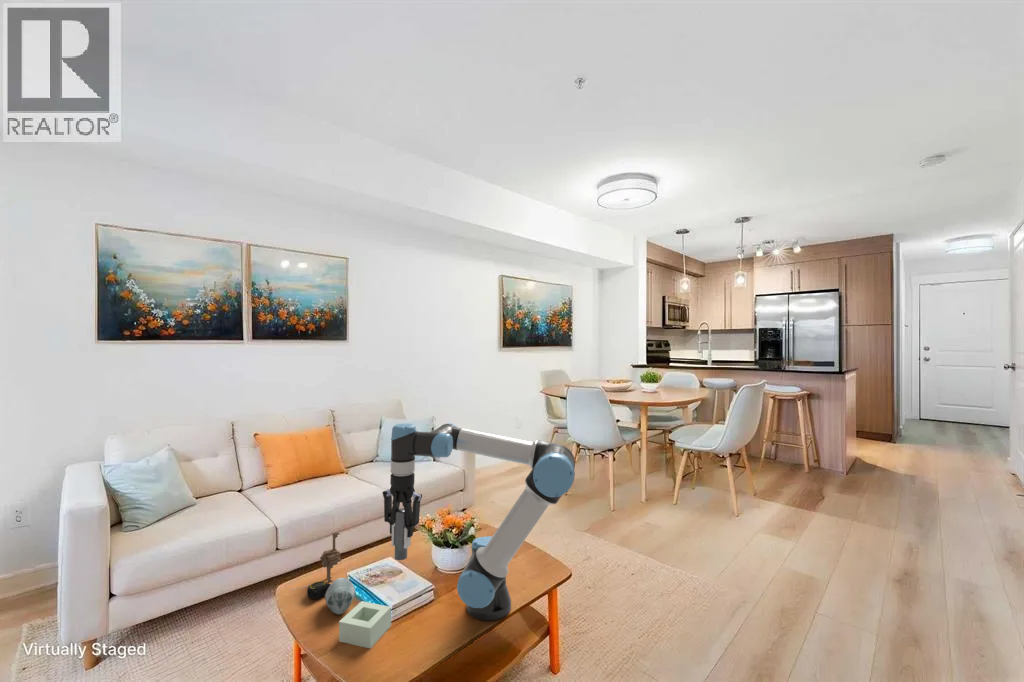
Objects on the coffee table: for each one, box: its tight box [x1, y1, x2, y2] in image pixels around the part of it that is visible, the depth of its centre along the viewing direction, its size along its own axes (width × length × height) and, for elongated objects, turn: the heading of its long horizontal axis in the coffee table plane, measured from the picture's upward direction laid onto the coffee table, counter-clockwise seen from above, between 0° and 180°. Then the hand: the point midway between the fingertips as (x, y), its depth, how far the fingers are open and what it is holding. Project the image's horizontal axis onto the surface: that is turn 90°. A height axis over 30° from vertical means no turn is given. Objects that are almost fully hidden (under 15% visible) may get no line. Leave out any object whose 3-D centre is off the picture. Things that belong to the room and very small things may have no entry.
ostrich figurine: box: [290, 531, 342, 591], centre depth 165 cm, size 17×7×18 cm, turn 121°
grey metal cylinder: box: [394, 507, 408, 561], centre depth 142 cm, size 4×4×15 cm
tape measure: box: [307, 580, 332, 600], centre depth 157 cm, size 7×7×4 cm
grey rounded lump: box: [324, 577, 356, 615], centre depth 150 cm, size 14×10×10 cm
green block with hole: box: [338, 600, 392, 650], centre depth 137 cm, size 11×11×6 cm
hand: (401, 545), depth 142 cm, fingers closed on grey metal cylinder, 4 cm apart
